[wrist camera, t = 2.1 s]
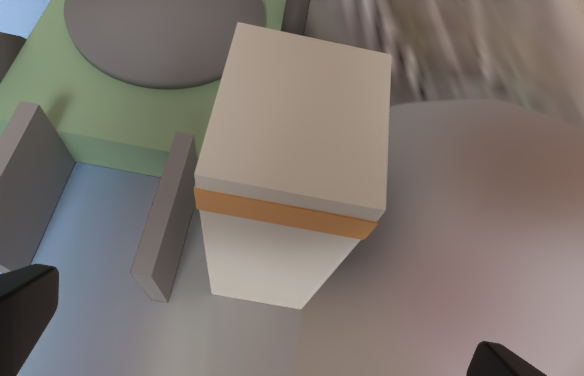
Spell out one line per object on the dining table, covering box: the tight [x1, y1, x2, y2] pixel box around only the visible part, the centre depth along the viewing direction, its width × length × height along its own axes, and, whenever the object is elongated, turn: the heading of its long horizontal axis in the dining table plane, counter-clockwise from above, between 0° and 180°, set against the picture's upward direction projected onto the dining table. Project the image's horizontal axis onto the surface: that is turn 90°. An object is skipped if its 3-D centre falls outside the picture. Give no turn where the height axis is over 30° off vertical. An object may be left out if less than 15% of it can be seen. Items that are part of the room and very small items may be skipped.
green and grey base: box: [0, 0, 310, 303], centre depth 22 cm, size 22×16×5 cm
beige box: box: [193, 22, 392, 309], centre depth 16 cm, size 5×5×12 cm
